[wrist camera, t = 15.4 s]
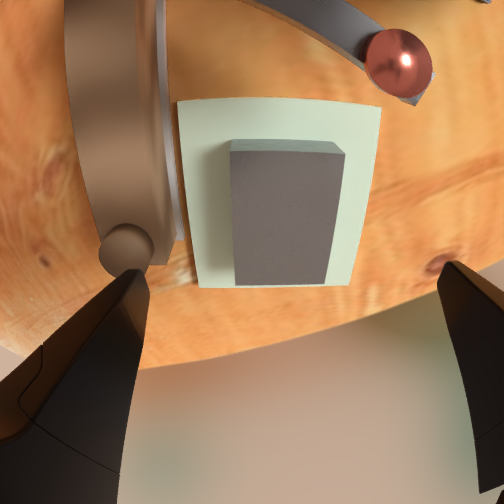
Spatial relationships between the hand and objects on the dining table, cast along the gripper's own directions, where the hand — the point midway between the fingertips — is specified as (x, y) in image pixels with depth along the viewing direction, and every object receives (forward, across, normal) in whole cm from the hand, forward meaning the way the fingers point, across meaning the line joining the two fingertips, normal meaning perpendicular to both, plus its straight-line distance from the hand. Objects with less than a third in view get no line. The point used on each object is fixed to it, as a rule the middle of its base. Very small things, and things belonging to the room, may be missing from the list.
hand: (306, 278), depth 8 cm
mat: (+12, 0, +4) cm, 12 cm away
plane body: (+12, +9, -4) cm, 15 cm away
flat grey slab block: (+11, 0, +4) cm, 12 cm away
